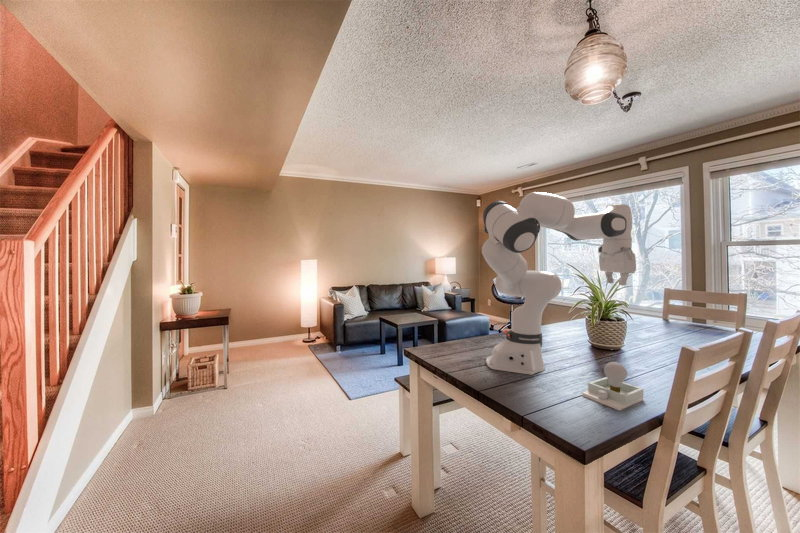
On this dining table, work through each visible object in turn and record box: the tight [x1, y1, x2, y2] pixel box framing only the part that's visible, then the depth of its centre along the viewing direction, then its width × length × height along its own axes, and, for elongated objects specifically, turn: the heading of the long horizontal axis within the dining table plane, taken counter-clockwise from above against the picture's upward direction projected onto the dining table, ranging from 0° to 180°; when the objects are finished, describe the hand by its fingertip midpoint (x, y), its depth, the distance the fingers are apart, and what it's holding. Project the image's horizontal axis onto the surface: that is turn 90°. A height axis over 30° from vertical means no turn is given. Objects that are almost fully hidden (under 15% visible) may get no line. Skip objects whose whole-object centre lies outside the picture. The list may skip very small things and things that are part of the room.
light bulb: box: [603, 361, 628, 393], centre depth 95 cm, size 6×6×10 cm
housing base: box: [582, 376, 645, 411], centre depth 94 cm, size 14×11×4 cm
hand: (616, 284), depth 114 cm, fingers open, 8 cm apart
